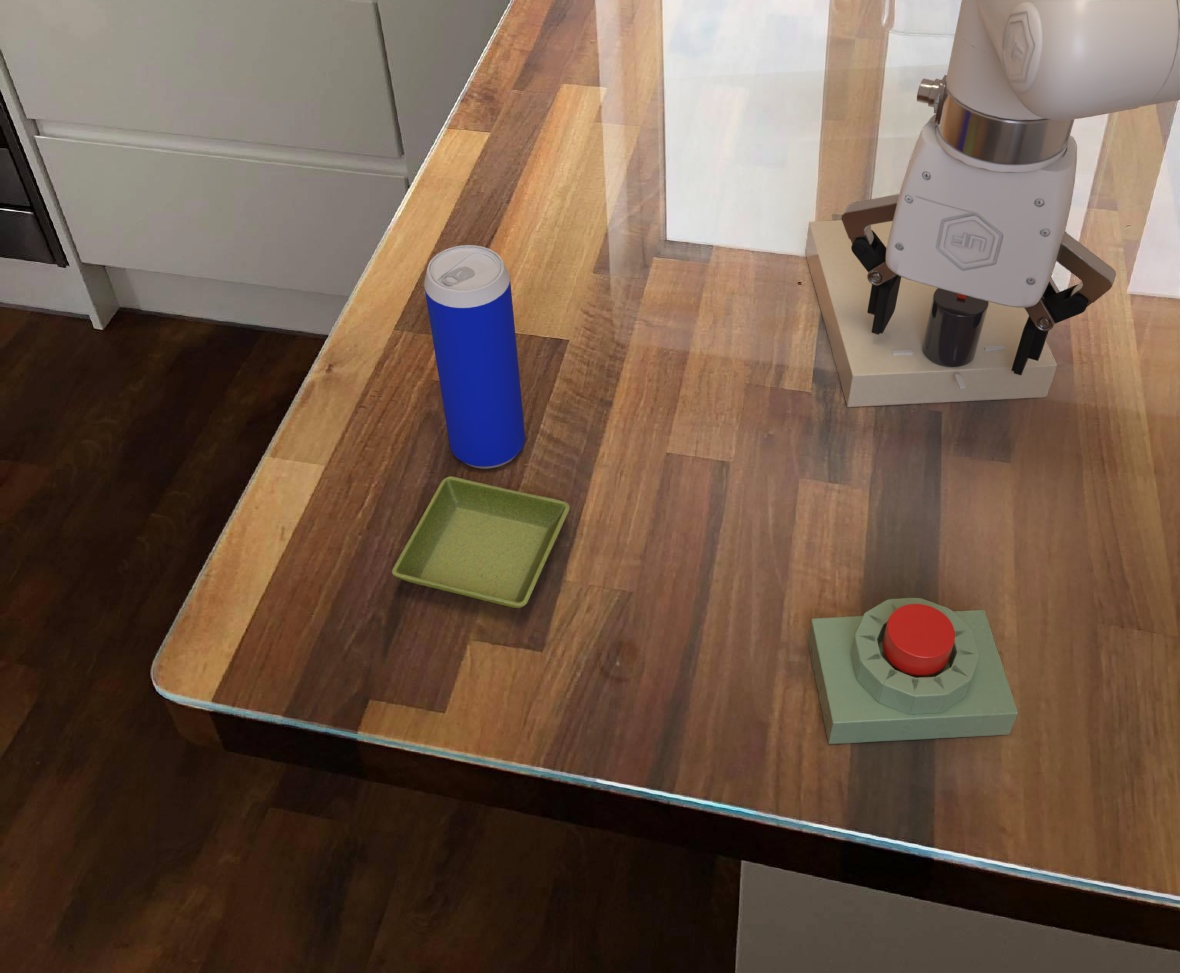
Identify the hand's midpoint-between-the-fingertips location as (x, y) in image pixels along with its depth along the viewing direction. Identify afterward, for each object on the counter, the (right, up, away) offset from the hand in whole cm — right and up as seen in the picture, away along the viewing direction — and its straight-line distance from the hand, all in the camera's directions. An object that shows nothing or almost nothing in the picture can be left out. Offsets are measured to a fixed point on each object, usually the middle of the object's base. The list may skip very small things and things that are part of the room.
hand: (950, 342), depth 84 cm
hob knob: (0, -1, +1) cm, 1 cm away
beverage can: (-32, -7, 0) cm, 32 cm away
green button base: (-7, -21, -14) cm, 26 cm away
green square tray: (-31, -15, -7) cm, 35 cm away
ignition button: (-7, -19, -17) cm, 26 cm away
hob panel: (0, +2, +8) cm, 8 cm away
